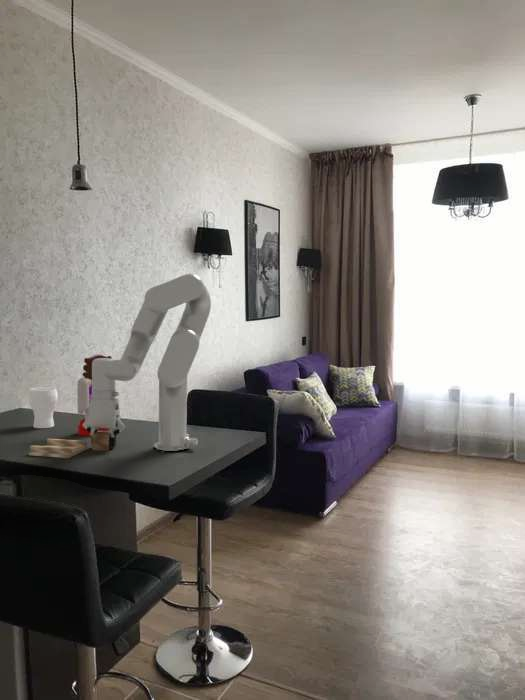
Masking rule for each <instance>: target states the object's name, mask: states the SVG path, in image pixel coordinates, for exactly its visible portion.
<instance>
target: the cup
mask: <svg viewBox="0 0 525 700" xmlns="http://www.w3.org/2000/svg"><path fill="white" fill-rule="evenodd" d="M58 399H59V395H58V390H57V388H56V387H52V386H45V387H44V386H42V387H33V388H30V390H29V395H28V401H29V405H30V407H31V409H32V412H33V416H34V420H33V424H32V425H33V428H35V429H48V428H49V429H50V428H53V427H54V426H55V420H54V410H55V409H56V406H57V404H58Z"/></svg>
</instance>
